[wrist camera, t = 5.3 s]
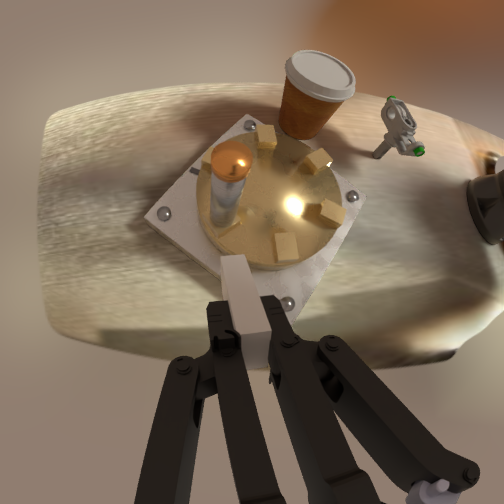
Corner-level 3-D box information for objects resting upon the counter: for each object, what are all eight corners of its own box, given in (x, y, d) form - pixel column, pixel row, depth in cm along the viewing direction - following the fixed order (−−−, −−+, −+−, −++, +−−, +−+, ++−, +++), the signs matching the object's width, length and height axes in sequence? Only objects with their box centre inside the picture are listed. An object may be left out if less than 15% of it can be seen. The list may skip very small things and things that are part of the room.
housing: (358, 203, 37) (368, 195, 34) (284, 326, 31) (292, 326, 28) (244, 124, 37) (247, 111, 35) (147, 224, 31) (142, 215, 29)
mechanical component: (380, 182, 39) (417, 149, 29) (359, 130, 41) (387, 93, 32) (393, 182, 39) (430, 151, 30) (372, 132, 42) (401, 96, 32)
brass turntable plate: (350, 196, 34) (414, 133, 20) (287, 300, 29) (351, 276, 15) (250, 126, 34) (272, 42, 21) (167, 212, 29) (144, 131, 16)
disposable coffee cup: (255, 121, 38) (272, 59, 26) (291, 96, 41) (313, 42, 29) (305, 159, 37) (338, 103, 26) (336, 129, 40) (369, 79, 29)
